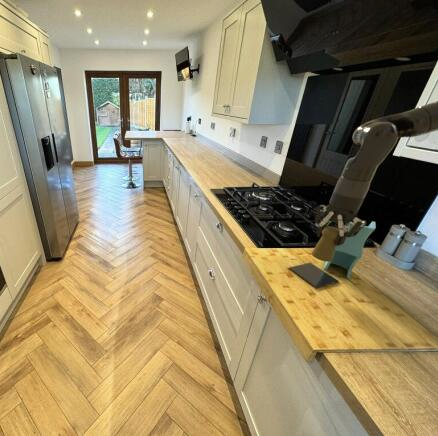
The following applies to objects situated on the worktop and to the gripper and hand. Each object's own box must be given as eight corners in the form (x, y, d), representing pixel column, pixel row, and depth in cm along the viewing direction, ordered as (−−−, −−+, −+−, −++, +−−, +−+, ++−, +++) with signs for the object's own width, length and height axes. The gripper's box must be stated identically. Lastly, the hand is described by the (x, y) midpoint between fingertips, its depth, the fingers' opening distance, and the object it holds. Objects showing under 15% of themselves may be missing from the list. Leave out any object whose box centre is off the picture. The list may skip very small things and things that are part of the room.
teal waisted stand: (351, 268, 89) (375, 222, 80) (349, 278, 84) (375, 229, 75) (326, 259, 94) (347, 214, 85) (323, 268, 88) (345, 221, 80)
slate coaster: (309, 263, 91) (310, 262, 91) (338, 282, 82) (339, 280, 82) (288, 268, 88) (289, 267, 88) (315, 288, 79) (316, 287, 78)
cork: (336, 260, 79) (350, 231, 74) (322, 262, 78) (335, 234, 73) (320, 250, 85) (331, 223, 80) (307, 252, 83) (318, 225, 78)
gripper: (385, 200, 66) (359, 250, 73) (334, 184, 78) (316, 229, 86) (367, 202, 64) (342, 254, 71) (318, 186, 76) (301, 231, 83)
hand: (328, 240), depth 78 cm, fingers closed on cork, 5 cm apart
